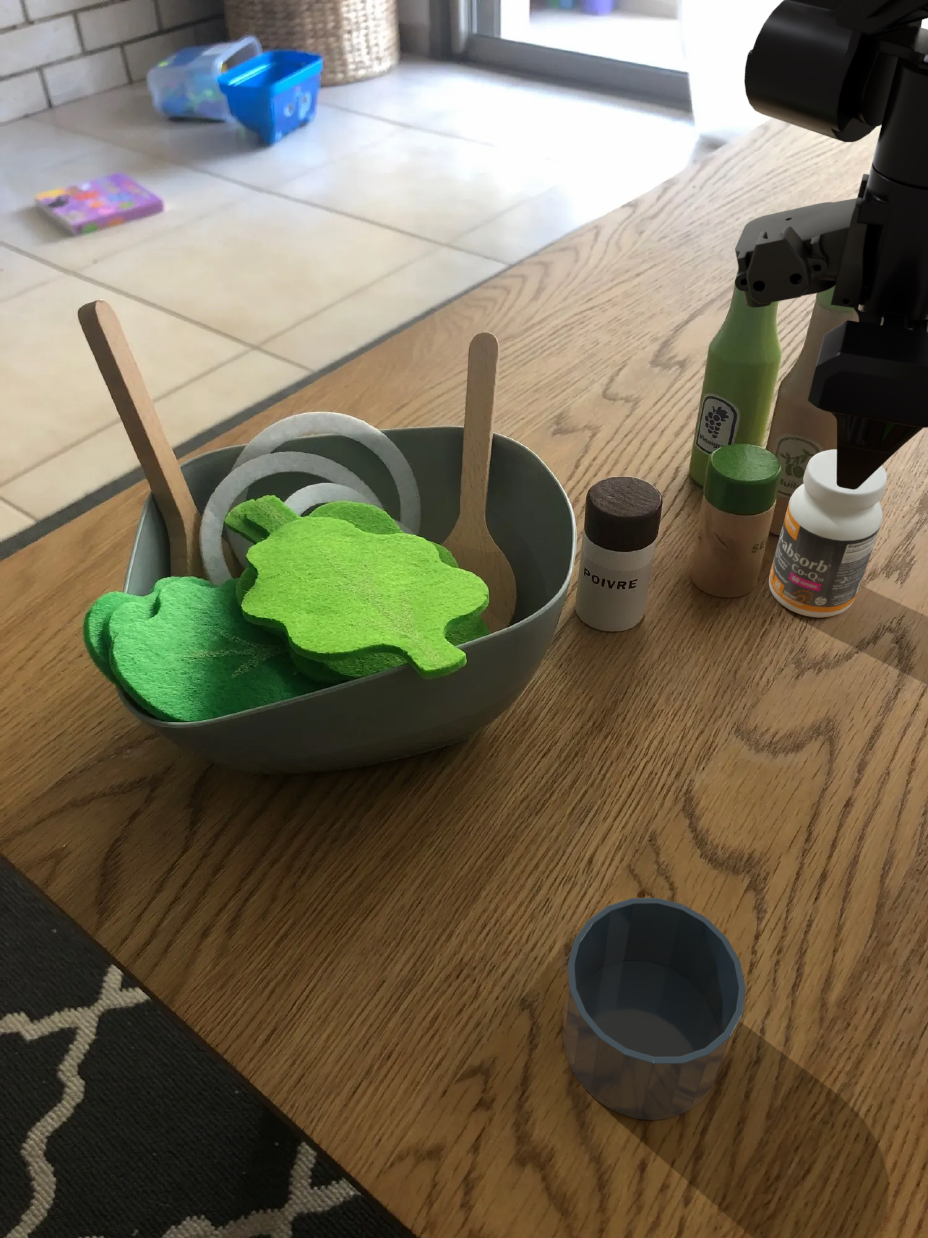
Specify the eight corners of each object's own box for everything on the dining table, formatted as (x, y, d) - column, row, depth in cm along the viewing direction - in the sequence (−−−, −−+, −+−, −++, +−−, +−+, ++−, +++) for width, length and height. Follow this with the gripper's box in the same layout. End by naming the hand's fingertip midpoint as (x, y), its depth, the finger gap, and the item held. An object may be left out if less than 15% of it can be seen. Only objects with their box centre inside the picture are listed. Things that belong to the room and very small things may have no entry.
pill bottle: (749, 587, 68) (777, 466, 61) (804, 553, 70) (837, 432, 63) (817, 634, 64) (856, 511, 58) (873, 596, 67) (916, 474, 60)
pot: (707, 962, 49) (727, 896, 45) (736, 1120, 43) (761, 1062, 39) (557, 963, 49) (562, 898, 45) (568, 1121, 44) (575, 1064, 39)
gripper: (790, 93, 57) (744, 345, 67) (729, 223, 44) (684, 506, 55) (1004, 112, 54) (919, 373, 64) (1003, 257, 41) (898, 550, 52)
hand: (854, 442), depth 59 cm, fingers open, 9 cm apart
